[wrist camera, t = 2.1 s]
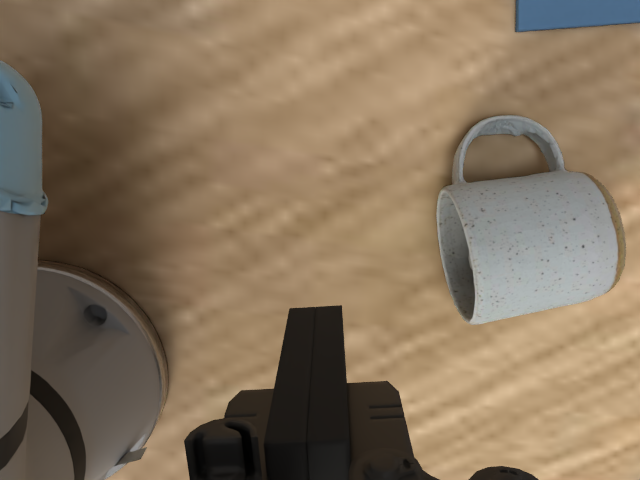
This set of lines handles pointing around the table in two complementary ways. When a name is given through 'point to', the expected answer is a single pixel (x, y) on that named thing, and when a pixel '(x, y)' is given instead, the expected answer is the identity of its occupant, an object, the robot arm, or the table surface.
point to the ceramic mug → (526, 234)
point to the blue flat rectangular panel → (574, 13)
